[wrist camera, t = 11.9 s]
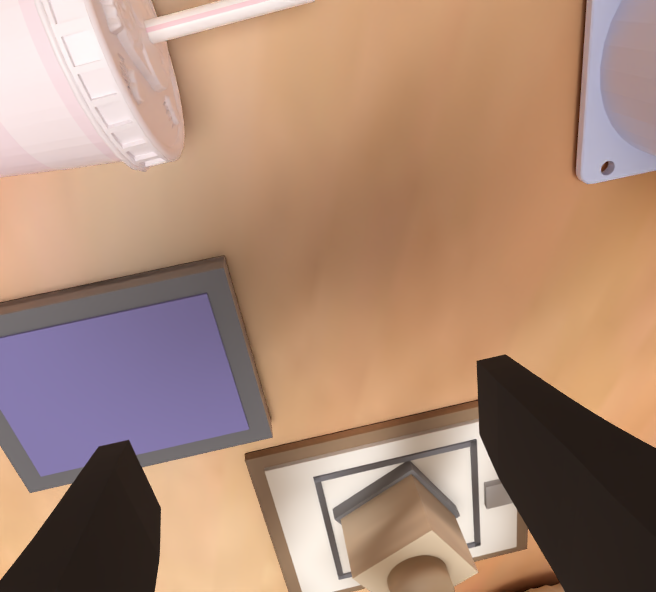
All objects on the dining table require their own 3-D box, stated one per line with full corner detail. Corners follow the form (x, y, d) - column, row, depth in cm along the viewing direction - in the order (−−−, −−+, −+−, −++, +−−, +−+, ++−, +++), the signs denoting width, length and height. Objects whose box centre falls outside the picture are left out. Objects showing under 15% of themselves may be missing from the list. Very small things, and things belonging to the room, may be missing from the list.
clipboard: (540, 385, 25) (550, 398, 25) (534, 540, 31) (542, 554, 30) (244, 453, 25) (245, 469, 24) (292, 598, 30) (294, 614, 29)
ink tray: (224, 255, 20) (223, 268, 19) (271, 421, 24) (272, 439, 23) (-59, 315, 19) (-74, 332, 19) (37, 474, 23) (29, 494, 23)
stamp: (408, 459, 26) (441, 547, 22) (455, 505, 28) (493, 593, 24) (332, 509, 26) (350, 601, 22) (383, 550, 28) (408, 642, 24)
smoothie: (-92, 234, 18) (337, 123, 17) (-307, 285, 12) (352, 115, 11) (-191, 17, 16) (283, -112, 15) (-506, -58, 10) (266, -278, 9)
